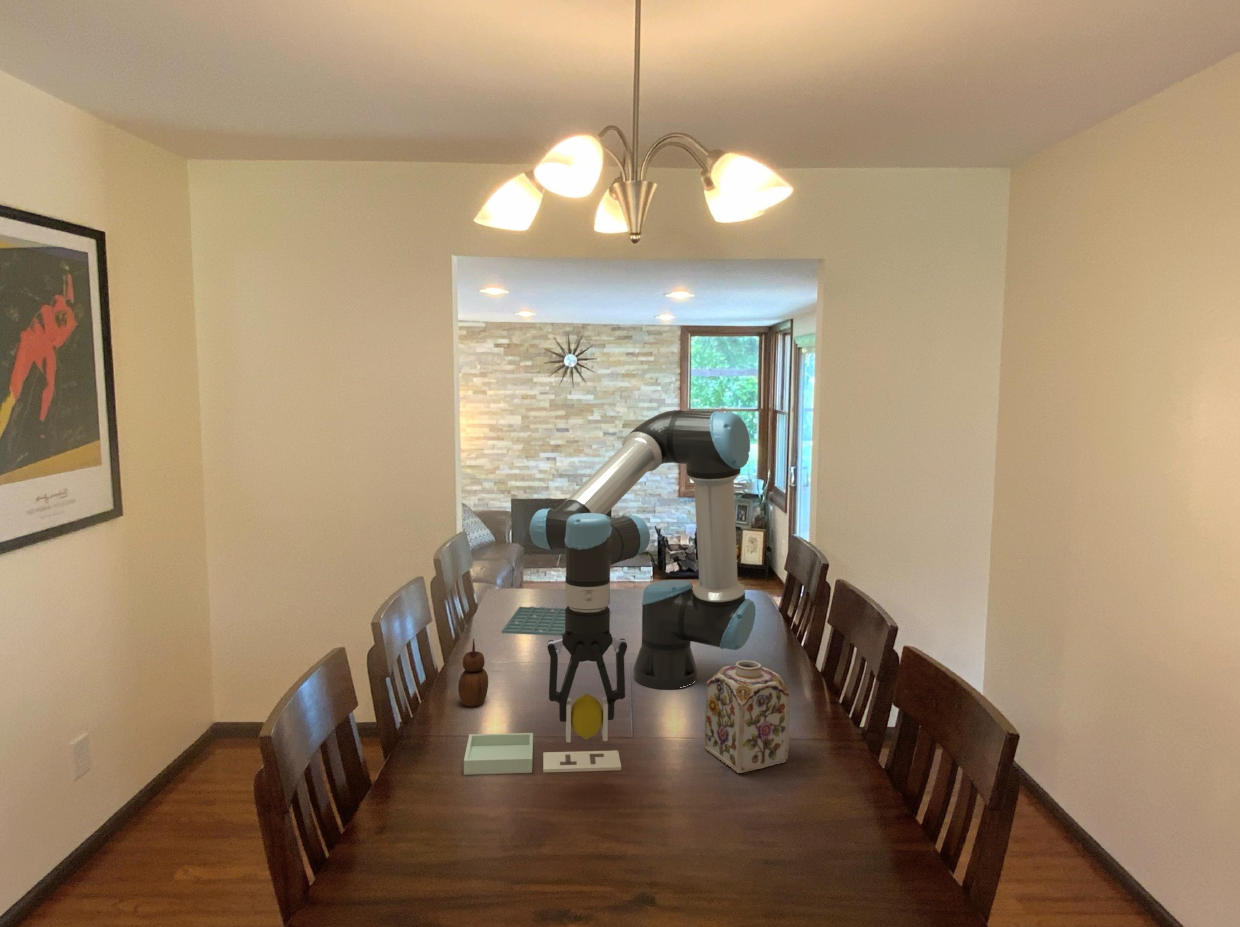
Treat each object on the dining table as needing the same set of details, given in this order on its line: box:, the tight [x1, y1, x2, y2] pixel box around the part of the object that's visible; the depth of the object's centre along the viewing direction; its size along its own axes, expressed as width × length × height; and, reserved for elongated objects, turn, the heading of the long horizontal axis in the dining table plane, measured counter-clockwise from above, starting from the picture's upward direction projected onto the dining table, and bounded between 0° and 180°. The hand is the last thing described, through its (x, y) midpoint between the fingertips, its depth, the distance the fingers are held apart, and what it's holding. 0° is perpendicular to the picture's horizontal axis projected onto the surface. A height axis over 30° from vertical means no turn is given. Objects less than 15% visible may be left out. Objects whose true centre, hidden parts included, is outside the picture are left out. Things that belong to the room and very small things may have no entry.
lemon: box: [571, 693, 603, 740], centre depth 132 cm, size 6×6×8 cm
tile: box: [542, 750, 622, 773], centre depth 142 cm, size 14×6×1 cm, turn 96°
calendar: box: [501, 605, 566, 637], centre depth 228 cm, size 27×29×2 cm
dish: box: [463, 732, 534, 776], centre depth 142 cm, size 12×10×3 cm
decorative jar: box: [703, 660, 791, 774], centre depth 145 cm, size 12×12×18 cm
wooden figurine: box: [457, 638, 489, 708], centre depth 167 cm, size 7×6×15 cm
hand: (586, 737), depth 133 cm, fingers closed on lemon, 5 cm apart
